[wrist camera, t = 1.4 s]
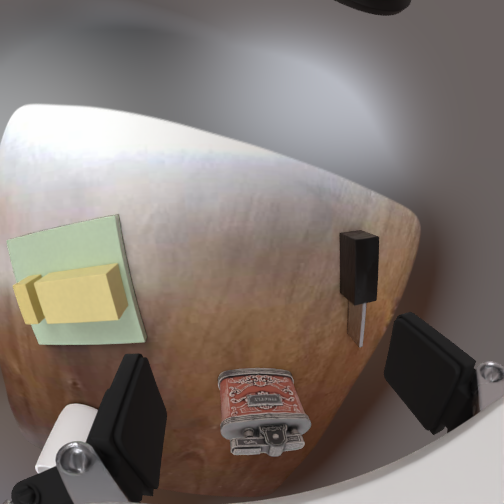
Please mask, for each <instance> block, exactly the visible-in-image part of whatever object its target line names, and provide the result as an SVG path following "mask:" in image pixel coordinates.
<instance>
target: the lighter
mask: <svg viewBox="0 0 504 504" xmlns="http://www.w3.org/2000/svg"><path fill="white" fill-rule="evenodd" d="M293 383H294V380H293V378H292V375H291V373H290V372H289V371H286V370H280V369H270V368H248V369H237V370H229V371H224V372H222V373H221V374H220V375H219V377H218V386H219V389H220V396H221V413H222V422H221V425H220V427H221V435H222V436H223V437H224V438H226V439H229V440H230V447H231V453H233V454H234V455H250V454H260V453H267V454H268V455H269V456H272V457H274V456H279V455H281V454H282V452H283V451H289V450H297V449H301V448H302V447H303V446H304V440H303V438H302V434H304V433H305V432H307V431H308V430H309V429H310V427H311V422H310V420H309V417H308V415H306V414H305V412H304V410H303V407H302V405H301V402H300V400H299V397H298V395H297V392H296V390H295V387H294V385H293Z"/></svg>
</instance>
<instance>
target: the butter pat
mask: <svg viewBox="0 0 504 504" xmlns="http://www.w3.org/2000/svg"><path fill="white" fill-rule="evenodd" d="M41 278H42V276H41V274H38V275H32V276H28V277H26V278H24V279H23V280H21V281H19V282H18V283H16V284H15V285H13V289H14V292H15V295H16V298H17V301H18V304H19V307H20V310H21V313H22V316H23V318H24V321H25V324H39V323H40V322H41V321H42V320H43V319H44V318H45V316H44V313H43V310H42V308H41V305H40V302H39V299H38V296H37V292H36V289H35V286H34V283H35V282H36V281H38V280H39V279H41Z"/></svg>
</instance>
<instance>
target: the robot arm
mask: <svg viewBox="0 0 504 504" xmlns="http://www.w3.org/2000/svg"><path fill="white" fill-rule="evenodd" d="M475 363H476V361H475V360H474V359H473V358H472V357H470V356H469V355H468V354H467V353H465V352H464V351H463V350H461V349H460V348H459V347H458V346H456V345H455V344H454V343H452V342H451V341H450V340H449V339H447V338H446V337H445V336H443V335H442V334H441V333H439V332H438V331H437V330H435V329H434V328H432V327H431V326H430V325H429V324H427V323H426V322H425V321H423V320H422V319H421V318H419V317H418V316H416V315H415V314H414V313H412V312H409V313H405V314H401V315H399V316H398V317H397V319H396V320H395V321H394V325H393V331H392V336H391V341H390V347H389V352H388V356H387V361H386V365H385V370H384V377H385V379H386V381H387V382H388V383H389V384H390V385H391V387H392V388H393V389H394V390H395V392H396V393H397V394H398V395H399V397H400V398H401V399H402V400H403V401H404V403H405V404H406V405H407V407H408V408H409V409H410V410H411V412H412V413H413V414H414V415H415V417H416V418H417V419H418V420H419V422H420V423H421V424H422V425H423V427H424V428H425V429H426V430H430V432H431V433H432V434H433V435H434V434H436V433H438V432H440V431H442V430H443V429H444V427H445V426H446V427H447V429H448V431H447V434H446V435H444V436H442V437H441V438H439V439H437V440H436V441H434V442H432V443H430V444H429V445H427V446H425V447H423V448H421V449H419V450H417V451H416V452H413V453H411V454H410V455H407V456H405V457H403V458H401V459H399V460H397V461H395V462H392V463H390V464H388V465H385V466H383V467H381V468H378V469H376V470H374V471H371V472H368V473H366V474H363V475H360V476H358V477H355V478H352V479H349V480H346V481H343V482H340V483H337V484H333V485H330V486H326V487H323V488H319V489H315V490H311V491H307V492H303V493H298V494H294V495H289V496H284V497H278V498H273V499H266V500H260V501H251V502H242V503H232V504H504V367H503V366H502V365H500V364H499V363H496V362H492V361H485V362H483V363H481V364H479V365H478V367H477V369H476V370H475V369H474V365H475ZM166 420H167V412H166V408H165V406H164V403H163V400H162V398H161V395H160V393H159V390H158V387H157V385H156V382H155V379H154V376H153V373H152V370H151V367H150V364H149V361H148V359H147V358H146V357H144V358H143V356H142V355H141V354H125V355H124V357H123V360H122V362H121V364H120V366H119V369H118V371H117V373H116V375H115V378H114V380H113V382H112V385H111V387H110V388H109V389H107V391H106V392H105V395H104V397H103V399H102V402H101V404H100V407H99V409H98V412H97V414H96V417H95V419H94V422H93V424H92V427H91V429H90V432H89V434H88V437H87V440H86V443H85V442H82V441H73V442H69V443H67V444H65V445H63V446H62V447H61V448H60V449H59V450H58V452H57V454H56V459H55V461H56V466H54V467H52V468H50V469H48V470H46V471H43V472H41V473H39V474H37V475H34V476H32V477H29V478H27V479H24V480H22V481H20V482H18V483H17V484H16V485H15V486H14V488H13V490H12V501H11V502H10V501H9V500H6V501H5V502H4V503H2V504H143V503H141V502H140V501H141V500H142V495H147V496H153V490H154V489H157V488H158V486H159V476H160V467H161V458H162V450H163V442H164V434H165V427H166ZM144 504H145V503H144Z"/></svg>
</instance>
